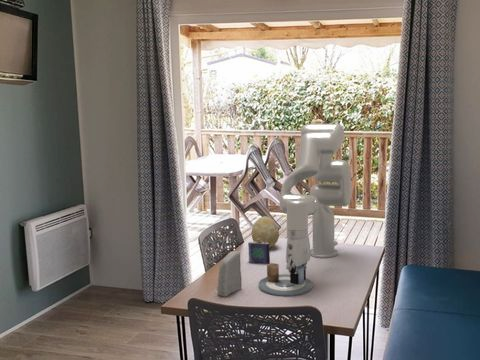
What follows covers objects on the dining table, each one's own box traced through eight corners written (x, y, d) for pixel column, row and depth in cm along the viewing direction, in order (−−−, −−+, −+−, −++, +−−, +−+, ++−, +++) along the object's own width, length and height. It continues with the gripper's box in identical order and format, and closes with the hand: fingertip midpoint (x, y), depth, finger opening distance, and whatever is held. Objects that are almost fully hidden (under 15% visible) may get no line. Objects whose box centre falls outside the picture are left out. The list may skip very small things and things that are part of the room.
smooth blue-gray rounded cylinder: (306, 282, 193) (306, 266, 192) (300, 285, 189) (299, 269, 188) (296, 279, 196) (295, 264, 195) (289, 283, 192) (289, 267, 191)
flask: (248, 263, 224) (247, 238, 222) (250, 260, 227) (249, 236, 225) (269, 264, 221) (268, 240, 219) (270, 262, 224) (270, 238, 222)
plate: (277, 273, 210) (277, 270, 210) (322, 283, 198) (322, 280, 198) (247, 289, 194) (247, 286, 194) (294, 300, 182) (294, 297, 182)
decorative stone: (228, 298, 186) (226, 257, 184) (214, 295, 189) (212, 255, 187) (244, 288, 195) (242, 249, 193) (230, 285, 198) (229, 247, 196)
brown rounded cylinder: (281, 279, 200) (280, 264, 199) (274, 283, 196) (274, 267, 195) (271, 277, 202) (271, 262, 202) (265, 281, 199) (264, 265, 198)
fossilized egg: (282, 245, 248) (282, 214, 246) (274, 253, 237) (274, 220, 234) (257, 243, 253) (256, 212, 250) (248, 250, 241) (247, 219, 239)
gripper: (294, 240, 181) (294, 290, 184) (318, 229, 194) (318, 276, 197) (275, 237, 185) (276, 286, 188) (300, 226, 198) (301, 273, 201)
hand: (298, 281), depth 192 cm, fingers closed on smooth blue-gray rounded cylinder, 4 cm apart
